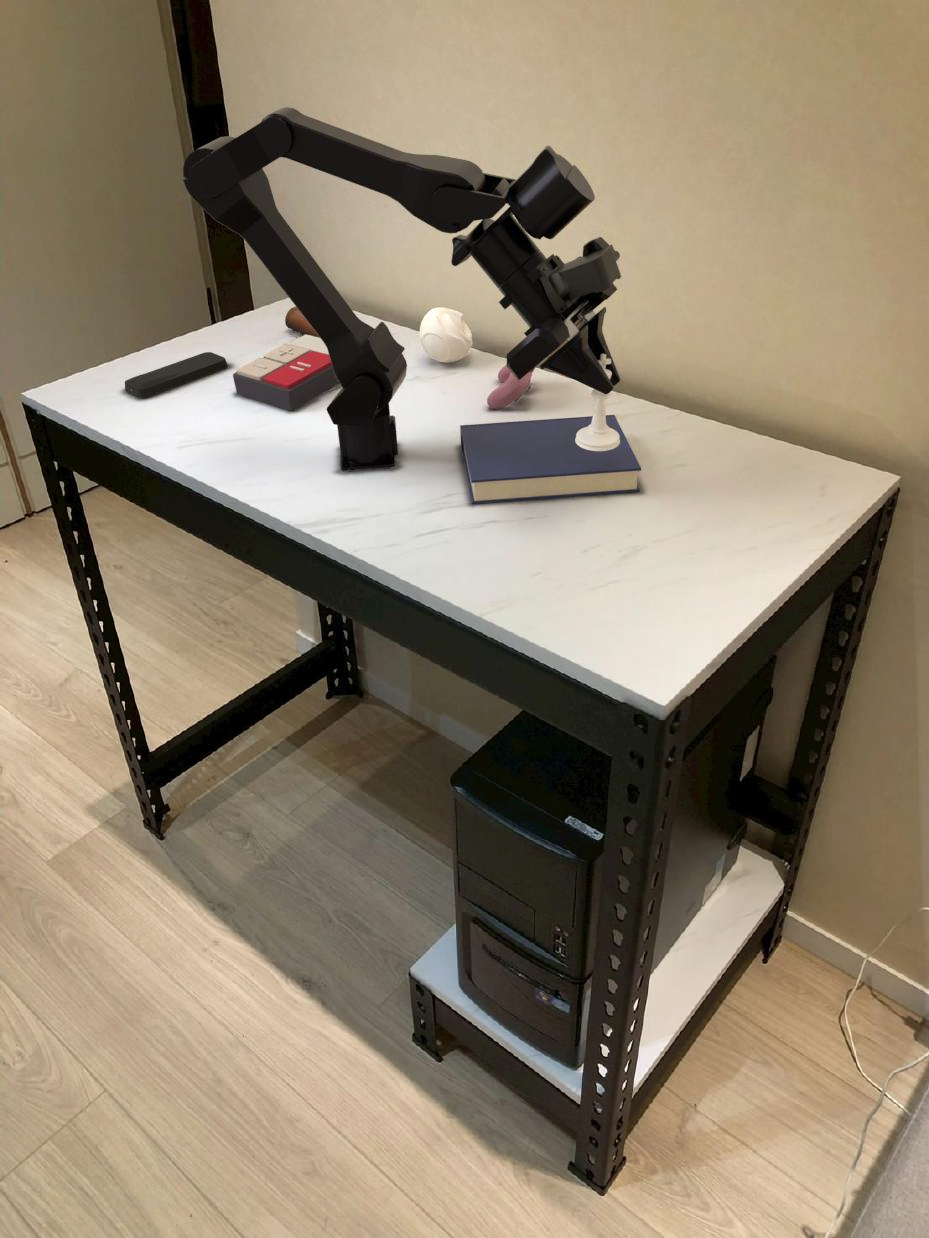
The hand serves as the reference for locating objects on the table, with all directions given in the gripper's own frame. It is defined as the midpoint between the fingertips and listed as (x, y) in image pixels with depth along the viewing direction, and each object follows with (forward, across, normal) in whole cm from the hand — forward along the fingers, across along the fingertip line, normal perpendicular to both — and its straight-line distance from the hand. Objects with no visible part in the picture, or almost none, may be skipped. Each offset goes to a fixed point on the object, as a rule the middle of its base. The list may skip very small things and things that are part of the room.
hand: (613, 387), depth 104 cm
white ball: (-15, +27, +33) cm, 45 cm away
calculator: (-25, +12, +44) cm, 52 cm away
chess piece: (+4, 0, +6) cm, 7 cm away
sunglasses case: (-28, +29, +47) cm, 62 cm away
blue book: (+3, +2, +14) cm, 15 cm away
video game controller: (-5, +19, +23) cm, 30 cm away
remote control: (-38, +8, +57) cm, 69 cm away
